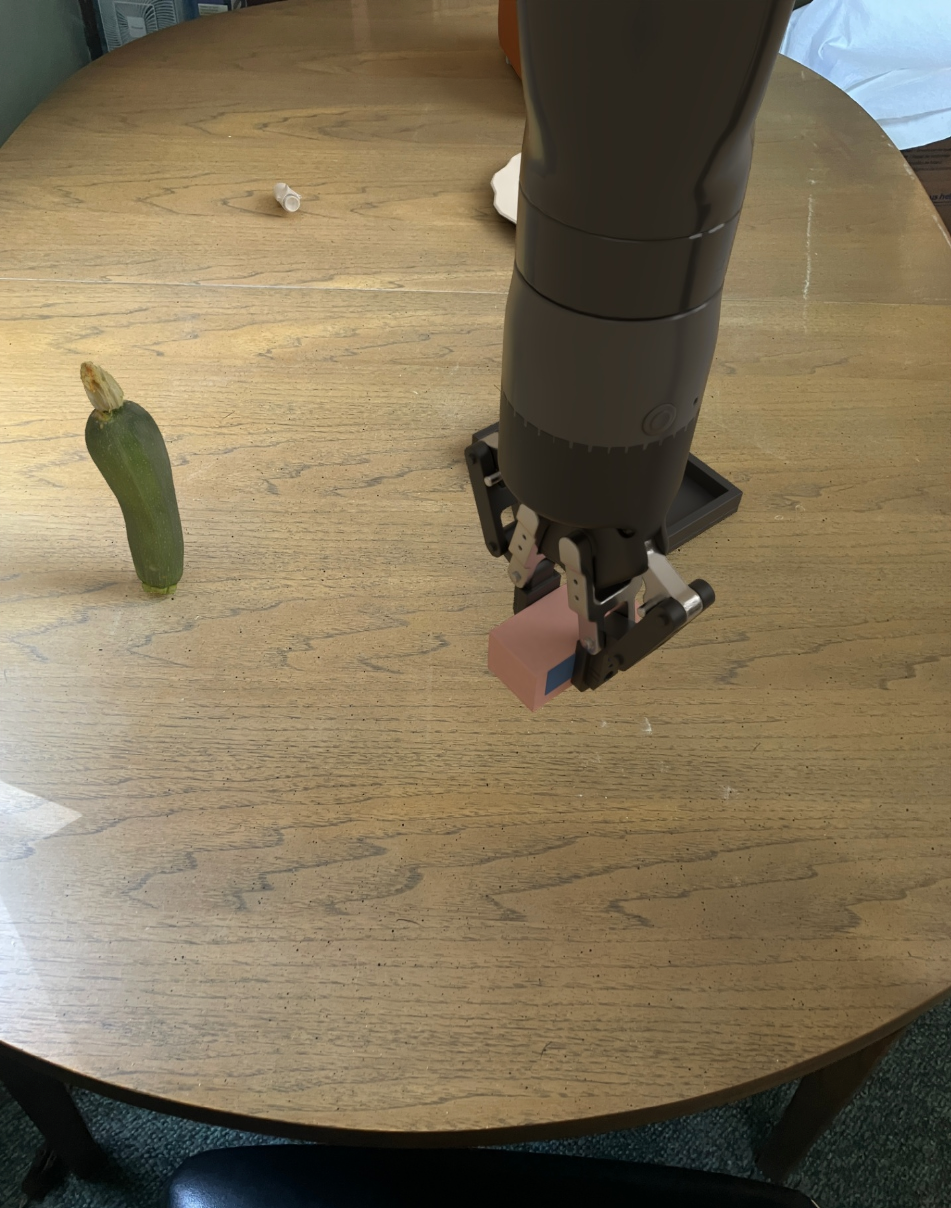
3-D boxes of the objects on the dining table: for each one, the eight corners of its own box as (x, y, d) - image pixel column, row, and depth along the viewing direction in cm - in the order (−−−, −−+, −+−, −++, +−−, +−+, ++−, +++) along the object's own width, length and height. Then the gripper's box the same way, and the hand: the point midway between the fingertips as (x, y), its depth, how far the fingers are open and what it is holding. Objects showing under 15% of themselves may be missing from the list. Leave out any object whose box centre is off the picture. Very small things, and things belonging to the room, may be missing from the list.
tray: (737, 511, 74) (743, 491, 72) (619, 584, 69) (623, 565, 67) (586, 396, 82) (588, 376, 81) (471, 454, 77) (471, 434, 76)
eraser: (635, 643, 49) (644, 606, 47) (532, 714, 46) (537, 678, 44) (587, 601, 51) (593, 563, 48) (486, 666, 48) (487, 630, 45)
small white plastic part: (309, 195, 104) (306, 166, 102) (300, 222, 100) (296, 194, 98) (276, 193, 104) (272, 165, 102) (266, 221, 100) (262, 193, 98)
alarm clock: (611, 121, 117) (631, -36, 104) (541, 126, 116) (553, -31, 103) (557, 47, 132) (569, -98, 119) (495, 52, 130) (500, -95, 118)
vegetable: (166, 557, 69) (86, 320, 54) (218, 574, 68) (151, 338, 53) (131, 600, 67) (36, 363, 51) (184, 618, 66) (104, 383, 50)
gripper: (821, 432, 33) (715, 706, 46) (551, 259, 40) (526, 540, 53) (672, 526, 30) (605, 791, 43) (407, 321, 37) (419, 603, 50)
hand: (561, 651), depth 48 cm, fingers closed on eraser, 3 cm apart
